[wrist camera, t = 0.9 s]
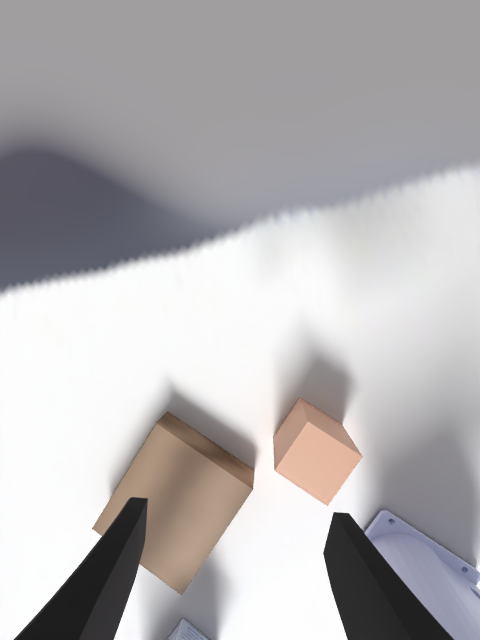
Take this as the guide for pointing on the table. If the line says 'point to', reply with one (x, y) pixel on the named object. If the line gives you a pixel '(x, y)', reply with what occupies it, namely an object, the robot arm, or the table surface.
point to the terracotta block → (314, 452)
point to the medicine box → (186, 632)
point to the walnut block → (181, 498)
